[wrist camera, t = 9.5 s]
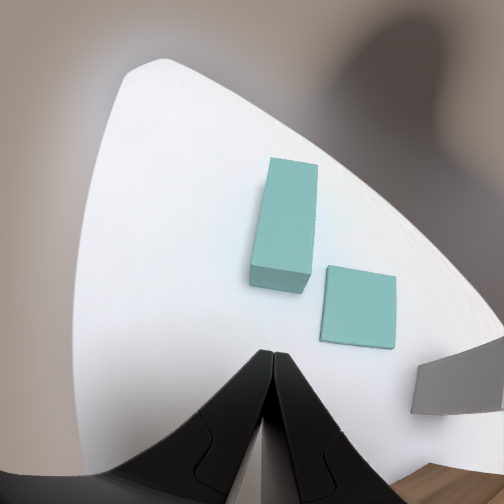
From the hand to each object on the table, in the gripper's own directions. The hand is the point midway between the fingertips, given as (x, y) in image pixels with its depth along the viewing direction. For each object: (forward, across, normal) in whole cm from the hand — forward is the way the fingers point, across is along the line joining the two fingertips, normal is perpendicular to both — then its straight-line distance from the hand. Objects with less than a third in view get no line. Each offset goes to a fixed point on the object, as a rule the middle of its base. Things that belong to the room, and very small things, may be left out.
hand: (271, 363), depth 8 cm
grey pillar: (+9, -14, +9) cm, 19 cm away
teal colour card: (+14, -7, +4) cm, 16 cm away
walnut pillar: (+3, -14, +15) cm, 21 cm away
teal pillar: (+13, 0, +3) cm, 13 cm away
